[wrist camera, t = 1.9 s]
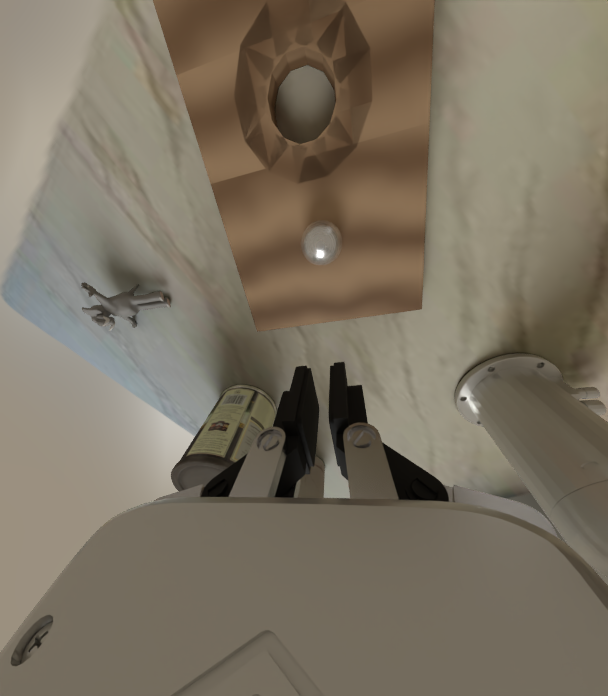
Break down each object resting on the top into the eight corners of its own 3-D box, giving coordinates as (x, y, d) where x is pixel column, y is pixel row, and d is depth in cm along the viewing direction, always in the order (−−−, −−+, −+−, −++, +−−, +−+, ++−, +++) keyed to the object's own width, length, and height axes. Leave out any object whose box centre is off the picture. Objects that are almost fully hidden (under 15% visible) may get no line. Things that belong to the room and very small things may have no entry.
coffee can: (244, 434, 44) (209, 516, 32) (208, 396, 41) (153, 473, 28) (288, 418, 41) (268, 503, 29) (253, 375, 37) (213, 452, 25)
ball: (339, 215, 23) (339, 215, 19) (343, 258, 25) (345, 264, 21) (299, 224, 24) (293, 225, 20) (307, 265, 26) (302, 272, 22)
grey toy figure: (183, 333, 35) (118, 346, 34) (180, 300, 37) (119, 310, 36) (146, 295, 26) (54, 311, 24) (145, 254, 28) (59, 266, 26)
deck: (415, 302, 29) (421, 309, 26) (262, 324, 32) (257, 331, 30) (426, -92, 16) (440, -142, 14) (172, 21, 20) (152, -3, 18)
